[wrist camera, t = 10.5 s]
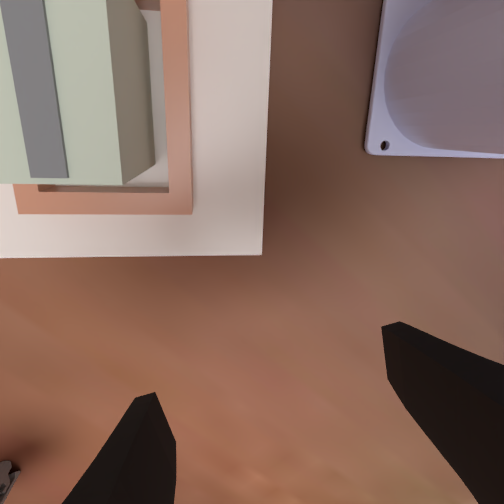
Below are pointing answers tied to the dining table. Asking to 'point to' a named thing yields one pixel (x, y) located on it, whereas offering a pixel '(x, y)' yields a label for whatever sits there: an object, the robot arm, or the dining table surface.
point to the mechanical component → (6, 479)
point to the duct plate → (172, 150)
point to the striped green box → (74, 92)
